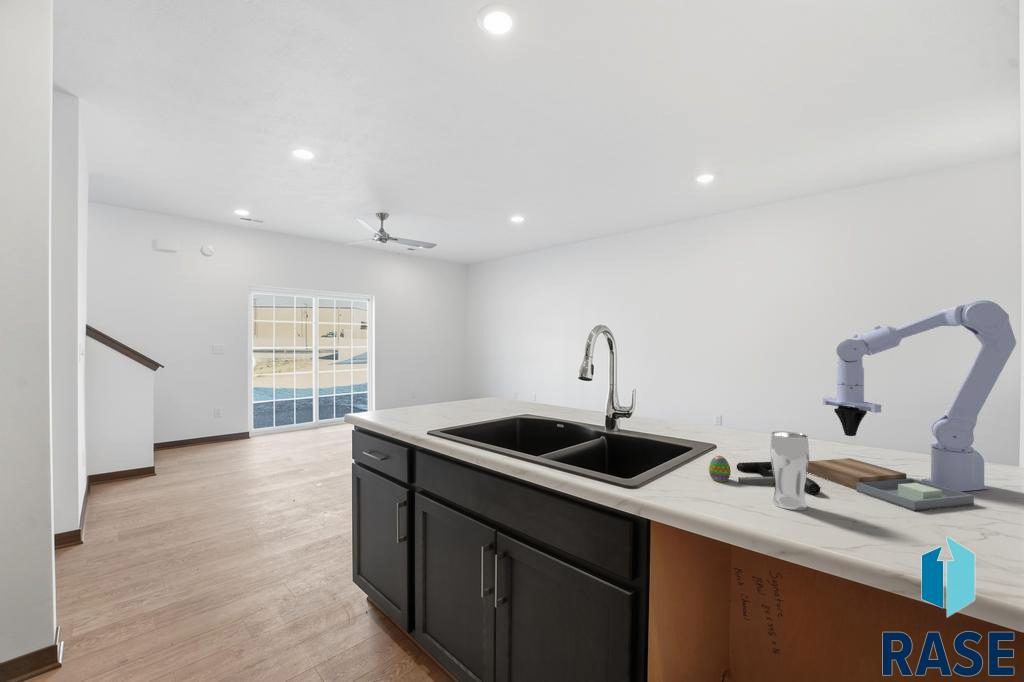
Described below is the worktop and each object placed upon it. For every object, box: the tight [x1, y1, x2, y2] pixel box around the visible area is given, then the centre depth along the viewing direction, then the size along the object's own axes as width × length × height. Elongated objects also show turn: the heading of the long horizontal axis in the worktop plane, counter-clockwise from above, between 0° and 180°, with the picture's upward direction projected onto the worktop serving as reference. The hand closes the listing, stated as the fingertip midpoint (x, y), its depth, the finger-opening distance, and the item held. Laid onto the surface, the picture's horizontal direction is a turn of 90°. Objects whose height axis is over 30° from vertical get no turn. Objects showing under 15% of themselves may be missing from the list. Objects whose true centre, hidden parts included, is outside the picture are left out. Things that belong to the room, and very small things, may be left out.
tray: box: [856, 477, 975, 512], centre depth 97 cm, size 16×12×2 cm
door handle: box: [736, 461, 821, 495], centre depth 109 cm, size 3×20×16 cm
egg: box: [708, 455, 731, 483], centre depth 109 cm, size 5×5×6 cm
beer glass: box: [769, 430, 810, 512], centre depth 92 cm, size 7×7×15 cm
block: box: [898, 483, 942, 500], centre depth 95 cm, size 5×5×2 cm
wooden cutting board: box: [807, 457, 907, 491], centre depth 110 cm, size 14×14×3 cm
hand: (850, 435), depth 117 cm, fingers closed
